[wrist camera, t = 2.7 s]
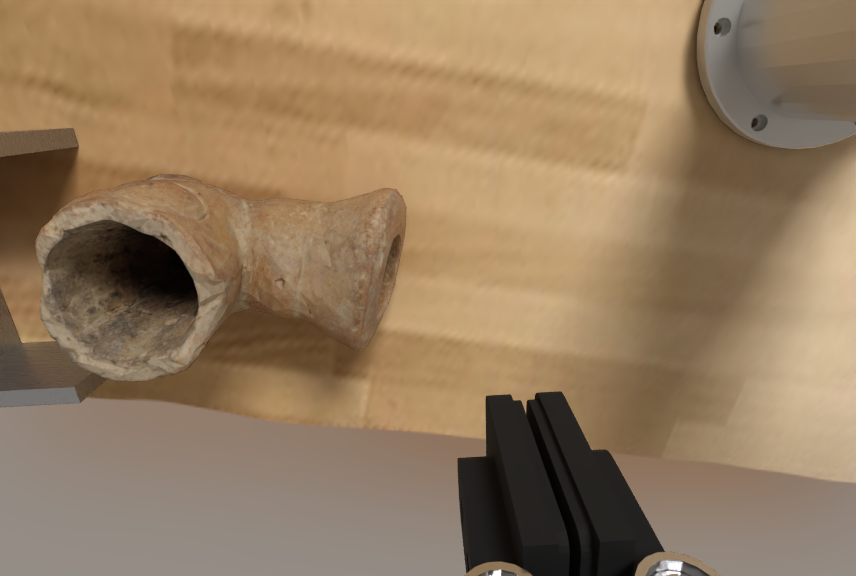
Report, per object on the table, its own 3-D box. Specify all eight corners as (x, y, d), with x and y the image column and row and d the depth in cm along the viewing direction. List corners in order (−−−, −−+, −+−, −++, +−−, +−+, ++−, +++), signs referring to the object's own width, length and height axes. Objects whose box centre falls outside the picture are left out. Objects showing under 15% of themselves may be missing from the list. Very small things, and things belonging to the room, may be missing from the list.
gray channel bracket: (72, 128, 27) (-17, 134, 22) (139, 350, 32) (80, 402, 27) (-78, 137, 27) (-207, 145, 22) (11, 357, 32) (-75, 411, 27)
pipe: (401, 315, 32) (393, 404, 22) (147, 301, 31) (29, 387, 22) (408, 173, 29) (402, 208, 19) (125, 155, 28) (-23, 182, 19)
